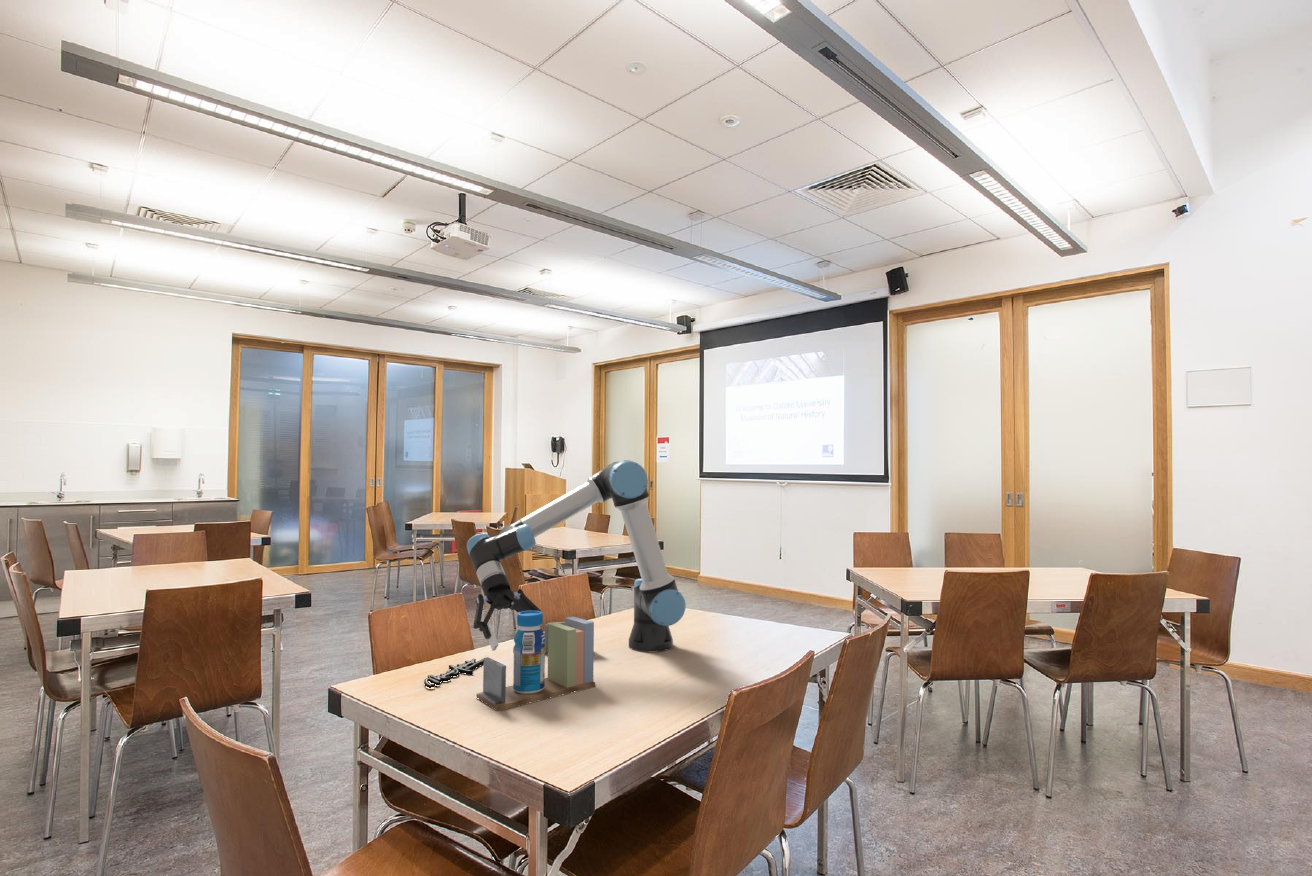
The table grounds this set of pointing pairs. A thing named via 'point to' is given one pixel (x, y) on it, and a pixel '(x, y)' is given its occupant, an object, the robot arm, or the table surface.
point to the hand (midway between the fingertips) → (518, 643)
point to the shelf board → (535, 694)
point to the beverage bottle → (529, 653)
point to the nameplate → (453, 672)
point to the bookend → (494, 681)
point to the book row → (571, 652)
